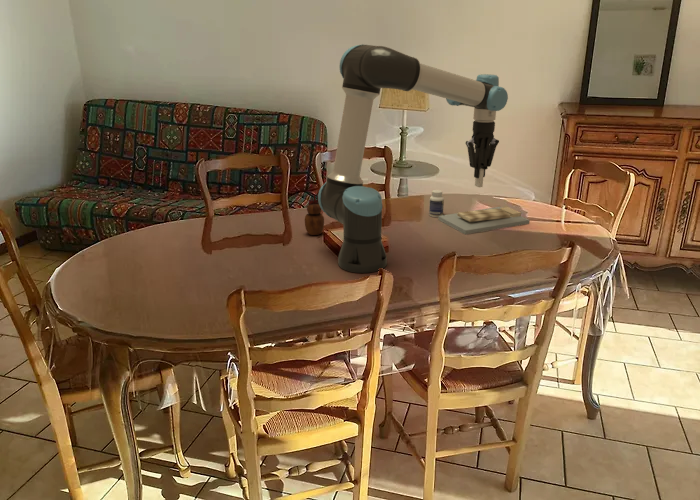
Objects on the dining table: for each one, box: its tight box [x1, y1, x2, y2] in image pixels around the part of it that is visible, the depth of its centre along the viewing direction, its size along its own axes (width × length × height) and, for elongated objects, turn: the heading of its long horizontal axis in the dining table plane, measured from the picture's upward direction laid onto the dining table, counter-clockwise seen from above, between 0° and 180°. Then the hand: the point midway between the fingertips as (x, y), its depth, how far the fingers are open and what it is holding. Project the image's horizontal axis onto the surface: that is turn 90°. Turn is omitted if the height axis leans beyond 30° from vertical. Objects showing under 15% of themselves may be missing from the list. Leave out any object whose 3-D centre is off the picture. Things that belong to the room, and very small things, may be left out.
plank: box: [457, 208, 510, 222], centre depth 220 cm, size 18×8×1 cm, turn 114°
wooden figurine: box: [304, 192, 325, 236], centre depth 207 cm, size 7×6×15 cm
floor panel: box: [437, 206, 530, 235], centre depth 220 cm, size 28×18×3 cm, turn 113°
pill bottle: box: [428, 189, 445, 218], centre depth 226 cm, size 5×5×10 cm
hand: (478, 186), depth 214 cm, fingers closed
